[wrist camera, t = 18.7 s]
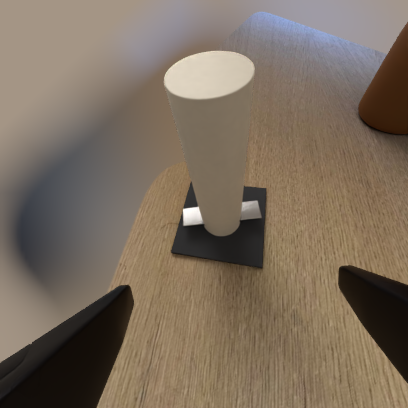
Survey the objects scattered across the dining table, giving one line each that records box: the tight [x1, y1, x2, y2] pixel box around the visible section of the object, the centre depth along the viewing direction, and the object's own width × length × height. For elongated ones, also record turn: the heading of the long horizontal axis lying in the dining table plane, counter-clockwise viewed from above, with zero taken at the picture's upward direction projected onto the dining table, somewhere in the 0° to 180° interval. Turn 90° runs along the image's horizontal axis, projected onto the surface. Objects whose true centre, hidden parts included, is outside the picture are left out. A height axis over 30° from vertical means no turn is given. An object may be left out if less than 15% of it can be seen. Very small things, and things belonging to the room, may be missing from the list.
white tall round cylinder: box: [164, 51, 262, 236], centre depth 13 cm, size 7×4×13 cm, turn 94°
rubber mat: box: [171, 182, 266, 268], centre depth 19 cm, size 8×8×1 cm
